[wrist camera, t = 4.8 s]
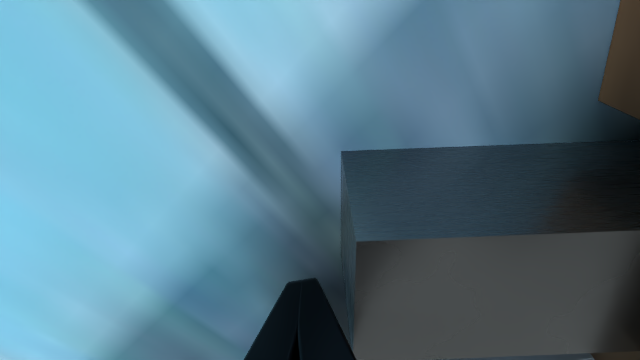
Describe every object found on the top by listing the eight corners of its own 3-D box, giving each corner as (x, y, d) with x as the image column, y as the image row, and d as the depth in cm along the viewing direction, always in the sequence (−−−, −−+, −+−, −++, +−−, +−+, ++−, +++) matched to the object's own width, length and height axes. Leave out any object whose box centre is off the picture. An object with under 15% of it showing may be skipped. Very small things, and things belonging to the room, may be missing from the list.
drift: (340, 254, 11) (352, 362, 8) (341, 151, 9) (356, 241, 6) (625, 243, 11) (743, 346, 8) (680, 138, 10) (859, 221, 6)
